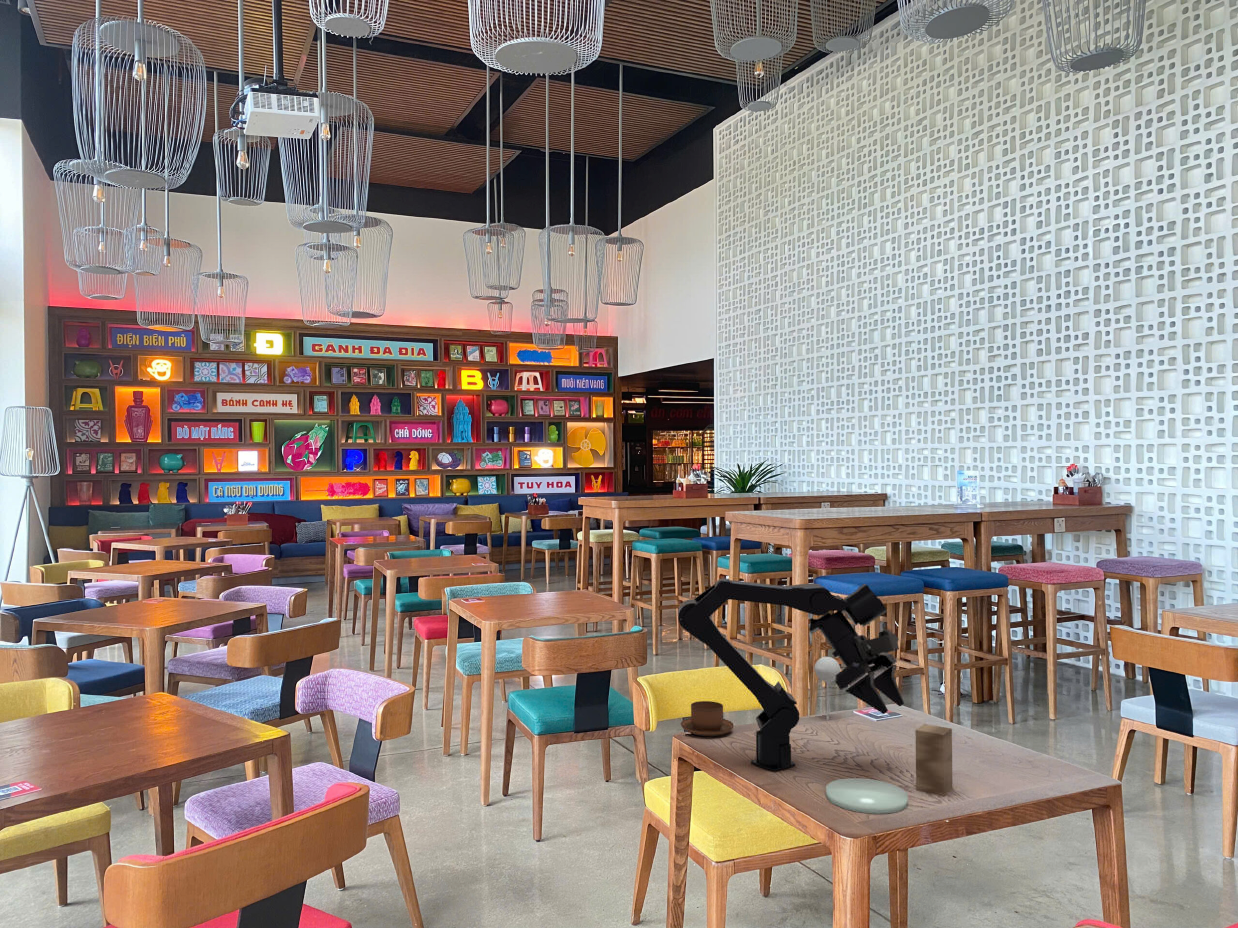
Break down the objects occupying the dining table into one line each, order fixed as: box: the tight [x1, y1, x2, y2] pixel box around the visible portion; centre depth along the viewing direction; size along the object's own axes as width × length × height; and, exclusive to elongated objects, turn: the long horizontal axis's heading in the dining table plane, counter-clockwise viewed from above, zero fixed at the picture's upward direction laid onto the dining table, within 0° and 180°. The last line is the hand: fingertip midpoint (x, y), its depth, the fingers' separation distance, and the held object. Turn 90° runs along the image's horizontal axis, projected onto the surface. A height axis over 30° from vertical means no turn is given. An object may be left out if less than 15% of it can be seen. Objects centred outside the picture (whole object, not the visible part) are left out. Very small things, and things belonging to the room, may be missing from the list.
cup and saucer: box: [680, 700, 734, 737], centre depth 189 cm, size 12×12×6 cm
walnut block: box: [915, 723, 954, 797], centre depth 152 cm, size 5×5×11 cm
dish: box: [825, 777, 909, 815], centre depth 148 cm, size 14×14×1 cm
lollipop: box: [813, 656, 841, 721], centre depth 199 cm, size 6×6×15 cm
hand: (894, 708), depth 158 cm, fingers open, 9 cm apart
